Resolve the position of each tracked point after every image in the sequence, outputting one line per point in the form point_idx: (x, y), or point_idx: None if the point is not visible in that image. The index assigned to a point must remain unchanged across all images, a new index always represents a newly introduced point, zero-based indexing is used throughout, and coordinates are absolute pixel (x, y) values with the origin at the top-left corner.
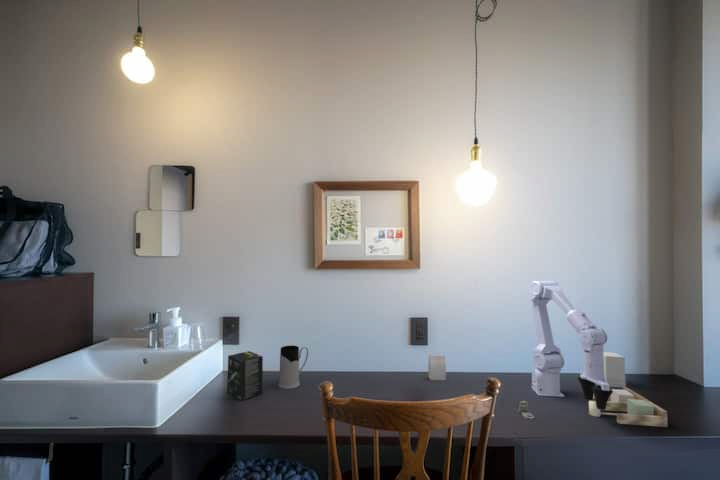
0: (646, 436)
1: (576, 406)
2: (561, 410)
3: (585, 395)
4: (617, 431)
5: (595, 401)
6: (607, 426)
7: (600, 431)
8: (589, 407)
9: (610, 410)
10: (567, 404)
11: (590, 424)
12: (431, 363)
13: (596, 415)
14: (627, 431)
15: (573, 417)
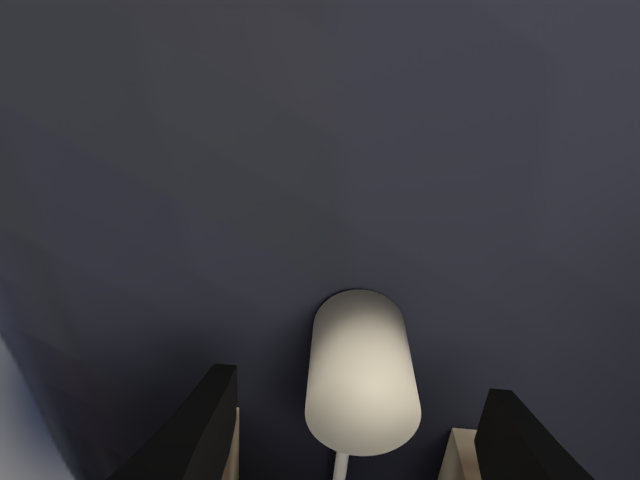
0: (58, 451)
1: (559, 270)
2: (475, 34)
3: (507, 423)
4: (75, 324)
5: (395, 440)
6: (149, 302)
7: (24, 188)
8: (368, 330)
9: (441, 478)
10: (623, 204)
11: (153, 177)
12: None
13: (313, 325)
14: (99, 389)
15: (291, 84)
